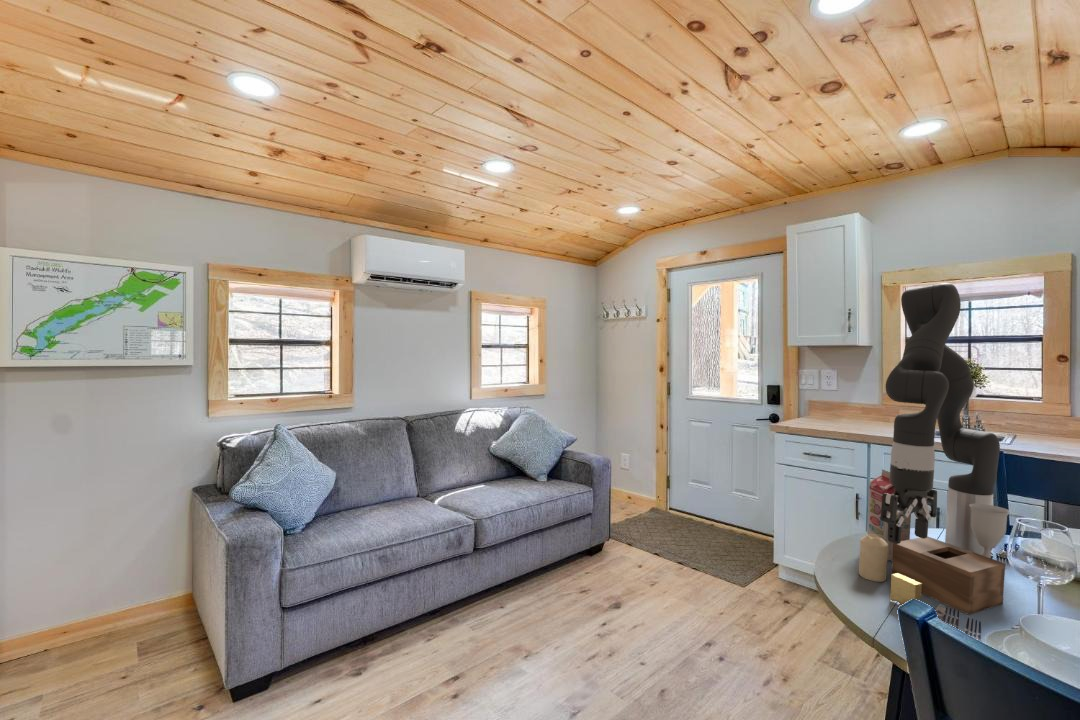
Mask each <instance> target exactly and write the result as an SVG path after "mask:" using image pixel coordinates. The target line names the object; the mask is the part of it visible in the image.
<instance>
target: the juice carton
mask: <svg viewBox="0 0 1080 720" xmlns="http://www.w3.org/2000/svg"><path fill="white" fill-rule="evenodd" d="M889 479H890V471H888V470H885V469H881V475H879V476H878V477H875V478H873V479H872V480H870V481H869V487H868V488H869V490H868V505H867V507H868V509H867V510H868V511H867V527H866V535H867V534H876V535H877V536H879V537H881V538H882V539H883V540H884V541H886V543H887V544H888V553H887V560H892V558H893V543H892V542H890V541H889V540H888V523H886V522H883V521H881V520H880V516H881V506H882V496H883V493H887V494H893V493H894V490H895V487H894V486H893V485H892V484H891V483H890V481H889ZM897 510H898V511H899V509H898V507H897ZM889 513H890V512H888V511H887V517H888V515H889ZM911 516H912V514H910V515H909V517H908V518H905V519H904V520H903V522H902V524H901V541H905V540H910V539H911V522H912V521H911V518H912V517H911ZM898 517H899V516H897V515H896V520H897V519H898Z"/></svg>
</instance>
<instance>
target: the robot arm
mask: <svg viewBox="0 0 1080 720" xmlns="http://www.w3.org/2000/svg"><path fill="white" fill-rule="evenodd" d="M959 293H960V292H959V291H958V289H957V287H956V286H955V285H954V284H953V283H949V282H944V283H943V282H941V283H935V284H931V285H925V286H921V287H920V286H919V287H913V288H911V289H910V288H909V289H907V290H906V289H905V290H904V291H903V292H902V294H901V297H900V303H901V309H902V312H903V313H902V314H903V315H904V318H905V320H906V321H905V322H906V323H907V326H908V329H909V330H910V334H911V335H910V337H909V339H908V340H907V341H906V343H905V346H904V351H903V354H902V359H901V360H900V361H899V362H898V363H897V365H895V366H894V368H892V370H891V371H890V373H889V375H888V376H887V379H886V381H885V388H884V389H885V393H886V395H887V397H888V398H889V399H891V400H892V401H894V402H897V403H905V404H917V405H918V404H919V405H924V406H925V407H924V409H923V410H922V411H919V412H914V413H901V414H899V415H897V416H895V418H894V421H893V436H892V437H893V438H892V446H891V450H890V466H889V467H890V468H889V472H890V479H889V481H890V483H891V484H892V485H893V486H894V487H895V490H894V493H893V494H887V493H883V496H882V506H881V516H880V520H881V521H883V522H886V523H888V540H889V541H890V542H892V543H895V544H899V543H900V542H901V524H902V522H903V520H904V519H905V518H908V517H909V515H910V514H911V515H912V514H913V513H914V516H915V517H916V518H915V520H914V521H915V523H914V535H915V536H916V538H919V537H920V538H923V539H924V538H927V536H928V534H929V533H928V532H929V522H931V521H932V518H933V519H934V518H936V517H937V515H938V514H937V512H938V511H937V509H938V491H937V490H935V489H934V479H935V478H934V475H935V474H934V473H935V464H936V463H935V460H936V459H935V458H936V456H935V435H936V433H935V432H936V425H938V431H939V436H940V442H941V447H942V451H943V453H944V455H945V456H946V457H947V459H948V460H950V461H953V462H956V463H962V464H966V465H970V466H972V469H971V472H970V473H966V474H964V473H963V474H954V475H951V476H950V477H949V479H948V485H947V486H948V487H947V489H948V490H947V504H946V505H947V507H946V521H945V536H944V537H945V538H944V542H945V543H948V544H951V545H954V546H956V547H959V548H962V549H965V550H968V551H971V552H974V553H977V554H979V555H982V554H983V553H984V547H982V546H981V545H979V543H978V541H977V539H976V537H975V535H974V533H973V530H972V527H971V516H972V509H971V508H970V506H969V505H970V504H987V505H993V506H994V491H995V485H996V483H997V477H998V476H997V475H998V467H999V459H1000V450H1001V448H1000V447H1001V445H1000V444H1001V443H1000V440H999V438H998V436H997V434H995V433H993V432H989V431H984V430H977V429H971V428H965V427H964V425H962V421H961V412H962V411H963V409H964V407H965V406H966V405H967V403H968V401H969V400H970V398H971V396H972V394H973V391H974V388H975V386H974V380H973V377H972V373H971V370H970V367H969V364H968V362H967V361H966V360H965V358H964V357H963V356H961V355H960V354H959V353H957V352H956V351H955V350H953V349H952V348H951V347H949V346H948V345H946V344H947V341H948V338H949V337H950V335H951V333H952V331H953V329H954V327H955V325H956V323H957V320H958V319H959V316H960V312H961V307H962V305H961V298H960V294H959ZM929 506H930V507H929ZM897 507H898V509H899V511H898V510H897ZM887 511H888V512H890V513H889V515H888V517H887ZM896 515H897V516H899V517H898V519H897V520H896ZM991 550H992V548H990V551H989V552H990V553H991Z"/></svg>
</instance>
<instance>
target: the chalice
mask: <svg viewBox="0 0 1080 720" xmlns="http://www.w3.org/2000/svg"><path fill="white" fill-rule="evenodd" d="M969 506H970V508H971V509H972V516H971V527H972V530H973V533H974V535H975V537H976V539H977V541H978V543H979V545H981V546H982V547H984V553H983V554H982V556H985V557H988V558H991V559H992V556H991V552H989V551H990V548H991V549H995V548H996V547H997V546H998V545H999V544H1000V542H1002V539H1003V538H1004V537H1005V534H1006V533H1007V525H1008V524H1007V522H1008V516H1009V514H1010V513H1011V510H1010V509H1007V508H1005V507H1001V506H997V505H994V504H993V505H987V504H970V505H969Z"/></svg>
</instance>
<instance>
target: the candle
mask: <svg viewBox="0 0 1080 720" xmlns="http://www.w3.org/2000/svg"><path fill="white" fill-rule="evenodd" d="M859 540H860V541H859V542H860V544H859V546H860V547H859V559H858V560H859V561H858V564H859V565H858V575H860V577H861V578H863V579H866V580H868V581H872V582H877V583H878V582H885V581H886V579H887V569H888V568H887V566H888V561H887V553H888V544H887V543H886V541H884V540H883V539H882V538H881V537H879V536H877V535H876V534H867V533H866V535H864V536H862V537H861V538H860V539H859Z"/></svg>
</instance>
